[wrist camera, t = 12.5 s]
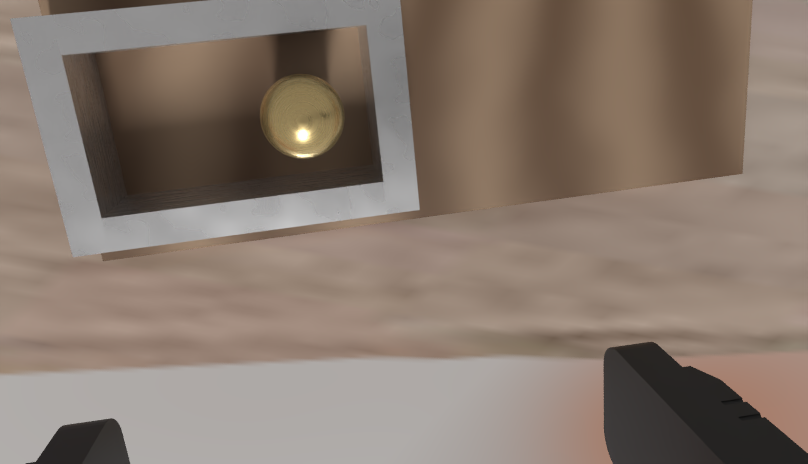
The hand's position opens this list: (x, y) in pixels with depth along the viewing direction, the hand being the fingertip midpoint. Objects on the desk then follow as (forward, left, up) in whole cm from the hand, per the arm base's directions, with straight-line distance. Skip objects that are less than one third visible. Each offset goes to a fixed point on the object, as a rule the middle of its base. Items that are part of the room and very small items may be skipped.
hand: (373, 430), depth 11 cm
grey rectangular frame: (+3, -4, -21) cm, 21 cm away
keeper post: (+1, -4, -21) cm, 21 cm away
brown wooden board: (-5, -4, -22) cm, 23 cm away
